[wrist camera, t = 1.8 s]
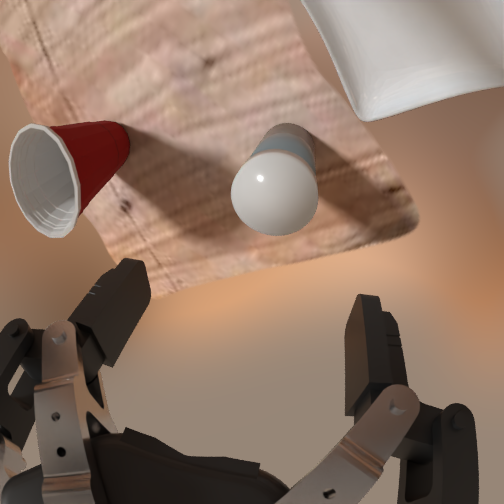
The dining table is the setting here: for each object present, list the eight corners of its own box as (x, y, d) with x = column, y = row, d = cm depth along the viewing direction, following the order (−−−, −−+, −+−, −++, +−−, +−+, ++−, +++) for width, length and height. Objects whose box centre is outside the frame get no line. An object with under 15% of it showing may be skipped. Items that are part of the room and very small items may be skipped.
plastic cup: (105, 79, 25) (21, 100, 15) (167, 143, 28) (98, 189, 19) (64, 145, 30) (-5, 184, 20) (116, 201, 34) (56, 257, 24)
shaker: (262, 119, 25) (231, 152, 16) (318, 125, 25) (323, 162, 15) (259, 170, 28) (230, 230, 19) (312, 176, 28) (311, 240, 18)
